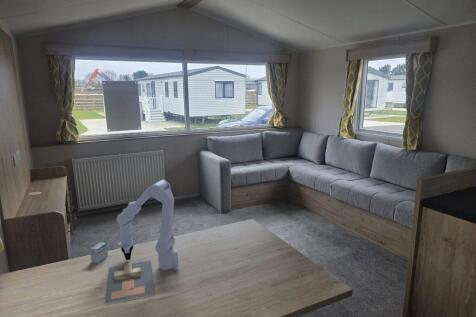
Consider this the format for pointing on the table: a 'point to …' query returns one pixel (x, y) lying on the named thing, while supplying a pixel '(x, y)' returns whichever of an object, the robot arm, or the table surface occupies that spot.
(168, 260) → the robot arm
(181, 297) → the table surface
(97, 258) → the medicine box
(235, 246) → the table surface
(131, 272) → the t block
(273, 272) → the table surface
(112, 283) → the mat
